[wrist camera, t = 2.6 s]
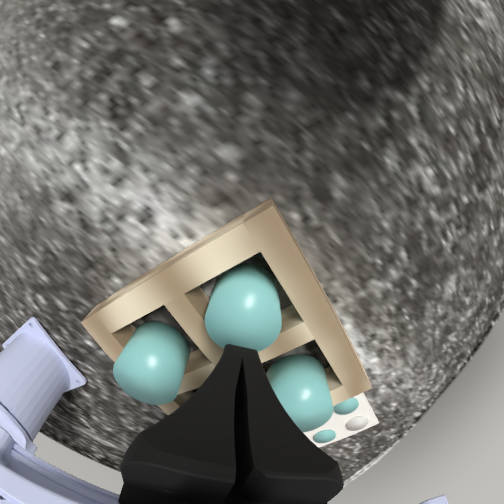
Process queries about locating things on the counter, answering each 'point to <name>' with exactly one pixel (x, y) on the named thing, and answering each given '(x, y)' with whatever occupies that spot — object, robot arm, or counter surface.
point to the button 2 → (153, 363)
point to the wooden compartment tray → (196, 301)
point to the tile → (344, 421)
